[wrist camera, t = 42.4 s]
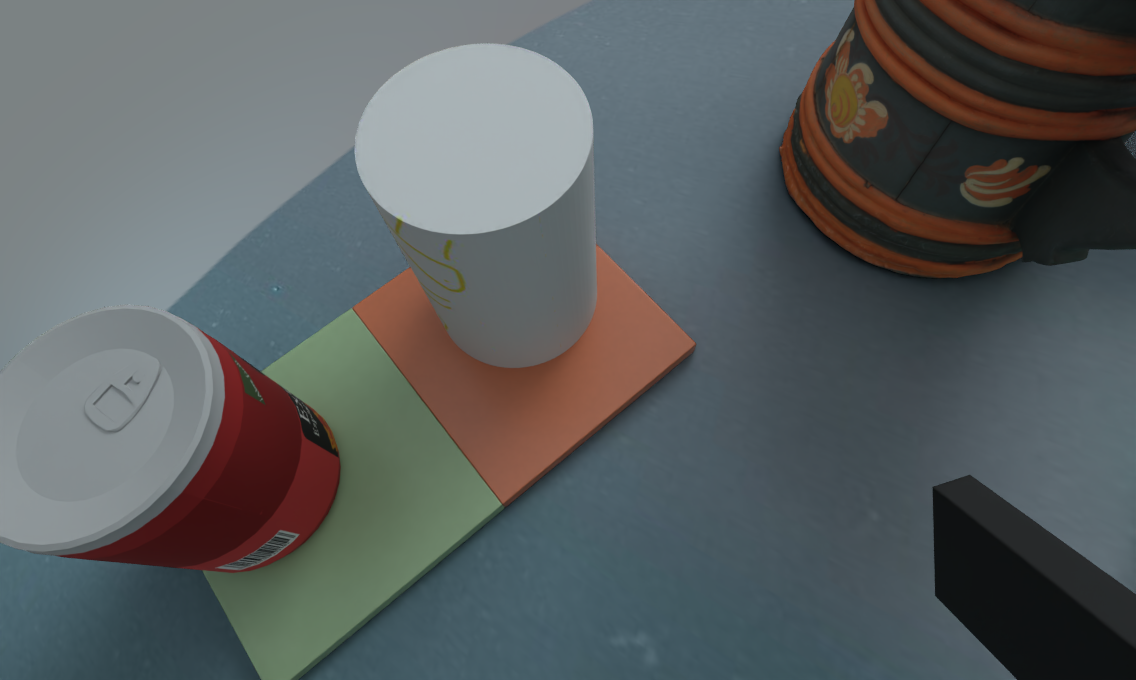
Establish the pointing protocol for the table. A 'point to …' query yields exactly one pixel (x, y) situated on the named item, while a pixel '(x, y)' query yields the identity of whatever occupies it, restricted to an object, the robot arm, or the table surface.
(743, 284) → the table surface
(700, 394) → the table surface
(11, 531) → the canned food
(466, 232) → the yellow-scribbled white cylinder
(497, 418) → the board
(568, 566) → the table surface
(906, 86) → the tankard
